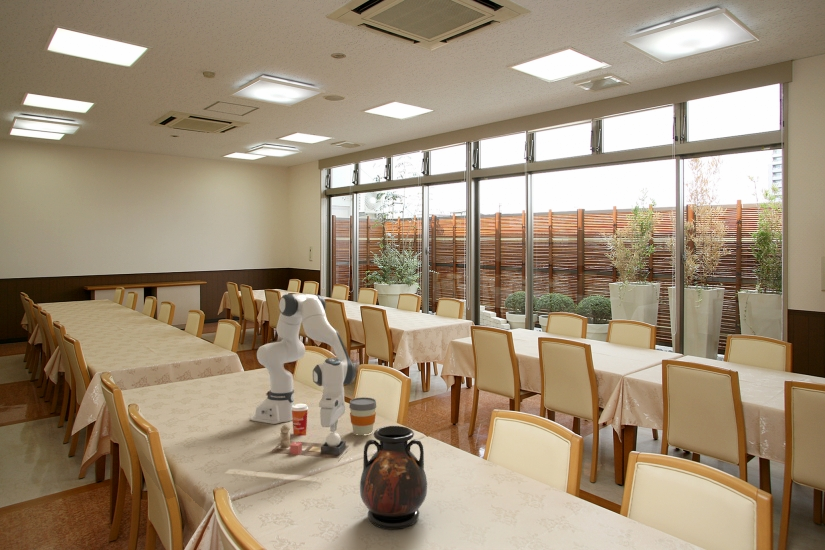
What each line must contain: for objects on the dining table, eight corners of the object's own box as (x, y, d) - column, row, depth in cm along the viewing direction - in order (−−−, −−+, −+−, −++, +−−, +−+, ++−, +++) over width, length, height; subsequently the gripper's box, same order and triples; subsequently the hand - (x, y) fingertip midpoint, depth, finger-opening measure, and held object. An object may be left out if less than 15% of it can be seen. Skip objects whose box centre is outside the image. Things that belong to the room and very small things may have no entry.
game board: (269, 456, 221) (268, 445, 221) (283, 443, 235) (283, 433, 235) (338, 461, 216) (338, 450, 215) (349, 449, 229) (349, 438, 229)
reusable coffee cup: (344, 434, 247) (343, 402, 246) (359, 426, 258) (359, 395, 258) (367, 439, 241) (367, 406, 241) (381, 430, 252) (381, 399, 252)
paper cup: (287, 437, 244) (287, 406, 243) (298, 431, 250) (298, 402, 250) (301, 439, 240) (301, 409, 239) (312, 434, 247) (311, 404, 246)
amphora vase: (425, 501, 182) (425, 420, 181) (429, 535, 161) (429, 443, 159) (361, 502, 182) (361, 420, 180) (357, 536, 160) (357, 444, 159)
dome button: (324, 449, 221) (324, 434, 220) (329, 443, 227) (329, 429, 226) (337, 450, 220) (337, 435, 219) (342, 444, 225) (342, 430, 225)
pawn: (278, 447, 226) (278, 426, 225) (282, 444, 230) (282, 423, 229) (287, 448, 225) (287, 426, 225) (291, 445, 229) (291, 423, 228)
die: (290, 453, 220) (290, 445, 220) (293, 450, 223) (293, 441, 223) (298, 454, 219) (298, 445, 219) (301, 451, 223) (301, 442, 223)
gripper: (334, 391, 233) (334, 422, 233) (317, 404, 213) (317, 438, 213) (348, 391, 232) (348, 423, 232) (332, 405, 212) (332, 439, 212)
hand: (333, 430), depth 223 cm, fingers closed
